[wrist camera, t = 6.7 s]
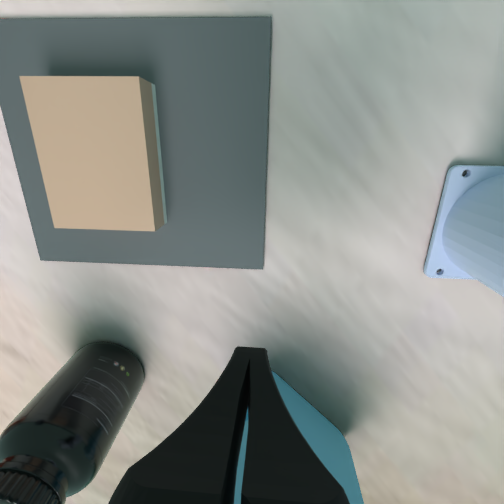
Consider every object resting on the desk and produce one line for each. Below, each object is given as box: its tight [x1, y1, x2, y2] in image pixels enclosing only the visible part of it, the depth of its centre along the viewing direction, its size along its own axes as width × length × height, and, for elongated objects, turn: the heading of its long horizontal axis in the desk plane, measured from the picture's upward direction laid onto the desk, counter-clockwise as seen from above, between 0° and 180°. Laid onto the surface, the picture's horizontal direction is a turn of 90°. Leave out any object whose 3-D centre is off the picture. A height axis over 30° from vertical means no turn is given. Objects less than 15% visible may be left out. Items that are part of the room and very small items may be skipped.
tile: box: [19, 76, 167, 231], centre depth 19 cm, size 2×9×7 cm
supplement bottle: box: [0, 342, 144, 504], centre depth 21 cm, size 7×7×12 cm
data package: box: [234, 371, 364, 504], centre depth 22 cm, size 12×4×12 cm, turn 44°
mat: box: [0, 17, 271, 269], centre depth 20 cm, size 18×16×1 cm
